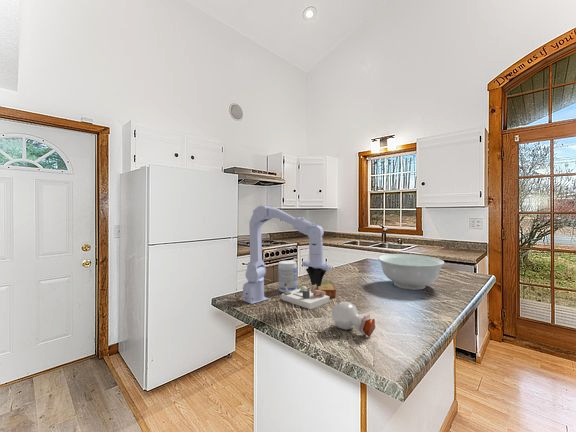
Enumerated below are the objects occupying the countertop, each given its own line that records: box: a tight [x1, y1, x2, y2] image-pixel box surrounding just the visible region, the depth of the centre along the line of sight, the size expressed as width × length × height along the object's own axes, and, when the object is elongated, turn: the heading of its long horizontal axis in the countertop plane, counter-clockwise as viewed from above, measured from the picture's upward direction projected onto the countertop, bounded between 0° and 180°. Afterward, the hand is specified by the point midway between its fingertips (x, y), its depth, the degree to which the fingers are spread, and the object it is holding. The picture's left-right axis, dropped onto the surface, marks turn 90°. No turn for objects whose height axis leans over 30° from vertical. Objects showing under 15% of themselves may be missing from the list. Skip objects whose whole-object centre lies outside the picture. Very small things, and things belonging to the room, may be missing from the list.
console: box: [281, 288, 331, 310], centre depth 131 cm, size 13×18×4 cm
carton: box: [316, 280, 337, 299], centre depth 142 cm, size 8×16×4 cm, turn 178°
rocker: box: [310, 289, 326, 295], centre depth 130 cm, size 6×4×2 cm, turn 133°
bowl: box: [377, 253, 445, 291], centre depth 153 cm, size 32×32×15 cm
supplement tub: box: [277, 260, 298, 293], centre depth 147 cm, size 10×10×15 cm
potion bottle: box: [331, 301, 376, 338], centre depth 99 cm, size 9×10×15 cm
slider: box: [303, 289, 311, 298], centre depth 127 cm, size 2×2×3 cm
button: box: [299, 285, 307, 292], centre depth 136 cm, size 3×3×2 cm
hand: (316, 285), depth 122 cm, fingers open, 2 cm apart
